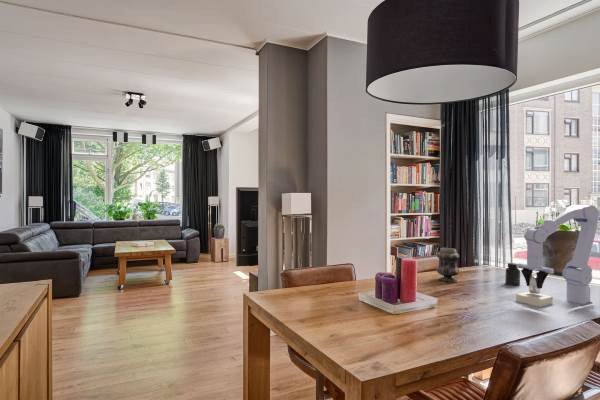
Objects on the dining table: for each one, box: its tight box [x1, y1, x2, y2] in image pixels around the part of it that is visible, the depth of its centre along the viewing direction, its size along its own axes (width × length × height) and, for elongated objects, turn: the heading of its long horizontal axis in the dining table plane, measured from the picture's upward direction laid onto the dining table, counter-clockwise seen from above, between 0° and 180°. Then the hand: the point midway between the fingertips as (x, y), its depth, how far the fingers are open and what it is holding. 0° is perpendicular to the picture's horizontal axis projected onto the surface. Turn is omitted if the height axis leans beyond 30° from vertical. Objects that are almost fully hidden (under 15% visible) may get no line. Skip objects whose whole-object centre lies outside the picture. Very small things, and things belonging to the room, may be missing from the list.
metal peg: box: [528, 275, 541, 294], centre depth 159 cm, size 4×4×7 cm
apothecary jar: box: [436, 247, 460, 283], centre depth 204 cm, size 12×12×18 cm
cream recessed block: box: [499, 291, 567, 309], centre depth 164 cm, size 20×18×4 cm
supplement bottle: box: [504, 262, 521, 287], centre depth 192 cm, size 7×7×12 cm
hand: (534, 287), depth 159 cm, fingers closed on metal peg, 4 cm apart
